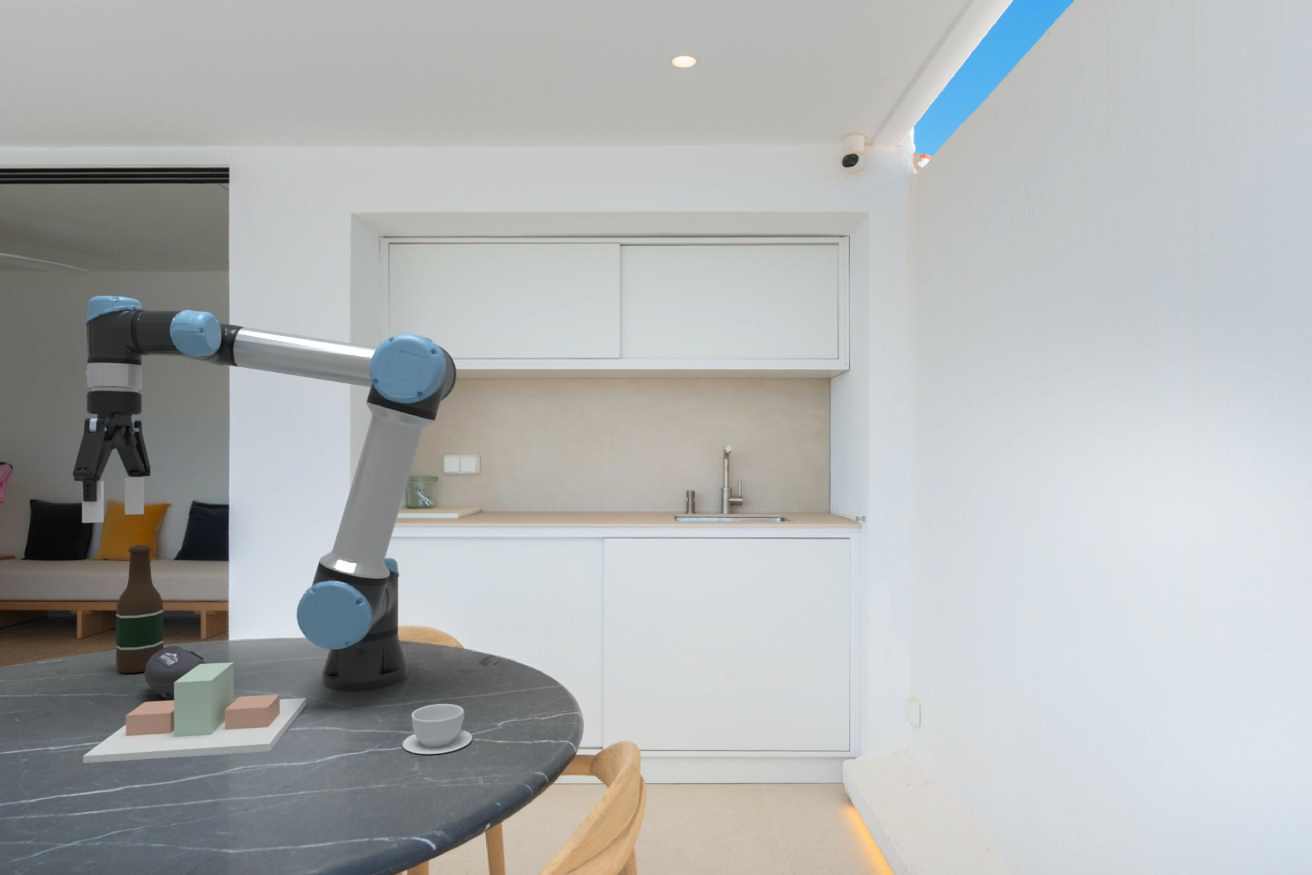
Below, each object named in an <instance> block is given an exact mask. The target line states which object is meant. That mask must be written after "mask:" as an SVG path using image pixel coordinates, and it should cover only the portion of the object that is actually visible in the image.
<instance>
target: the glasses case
mask: <svg viewBox="0 0 1312 875" xmlns="http://www.w3.org/2000/svg"><path fill="white" fill-rule="evenodd" d="M199 664H208V663H207V662H206V661H204V658H203V657H202V656H200V655H199V654H197V653H195V652H194V651H192V650H188V649H184V648H183V647H180V646H177V645H169V646H166V647H163V649H161V650H159V651H157V652H156V653H155V654H154V655H153V656H152V657H151V658H150V659H149V660H148V662H147V664H146V669H145V671H144V679H145V682H146V683H147V685H148V686H149V687H150V688H152V689H153V690H155V691H156V692H157V693H158V695H160V696H162V697H163V699H165V701H171V700H174V682H175V681H177V680H178V679H180V678H181V677H182V676H184V675H185V674H187V673H188V672H189V671H191V670H192V669H194V668H195V667H196V666H198V665H199Z"/></svg>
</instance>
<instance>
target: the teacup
mask: <svg viewBox="0 0 1312 875" xmlns="http://www.w3.org/2000/svg"><path fill="white" fill-rule="evenodd" d="M464 719H465V710H464V708H463V707H462V706H460V705H456V704H451V703H437V704H429V705H425V706H421V707H419V708H417V709H415V710H414V711H413V712H412V713H411V722H412V724H411V725H412V730H413V734H411V735H409V736H407V737H406V738H404V740H403V741H402V743H401V744H402V748H403V749H404V750H405V751H408V752H410V753H413V754H420V755H437V754H444V753H450V752H453V751H457V750H460V749H462V748H464V747H466V746H467V745H469V744H470V743H471V742H472V740H473V735H472V734H471V733H470V732H469V731H468V730H465V729H462V727H463V726H462V725H463V722H464V721H465V720H464Z"/></svg>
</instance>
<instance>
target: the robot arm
mask: <svg viewBox="0 0 1312 875" xmlns="http://www.w3.org/2000/svg"><path fill="white" fill-rule="evenodd" d="M86 312H87V314H86V321H85V326H86V337H87V338H86V342H87V344H86V345H87V346H86V347H87V350H86V351H87V360H86V361H87V362H86V364H87V365H86V366H87V367H86V370H85V371H84V374H85V375H86V379H87V380H86V382H87V383H86V384H87V385H86V386H87V387H88V388H89V389H91V390H90V391H88V393H86V411H87V413H88V414H91V415H97V416H96V418H85V420H84V426H83V434H82V439H81V442H80V446H79V449H78V454H77V457H76V460H75V464H74V467H73V472H72V476H73V480H74V482H81V489H82V490H81V508H82V509H81V523H83V524H87V523H88V524H89V523H94V524H95V523H96V524H97V523H104V521H105V516H104V514H105V512H104V511H105V509H104V508H105V507H104V506H105V502H104V500H105V496H104V495H105V494H104V493H105V492H104V491H105V490H104V487H105V486H104V484H105V482H104V480H101V478H102V476H103V474H104V472H105V468H106V466H107V464H108V461H109V459H110V456H111V454H112V451H113V450H117V453H118V456H119V457H120V460H121V462H122V464H123V467H124V469H125V472H126V474H127V476H125V477H124V515H144V514H145V477H150V476H151V472H152V471H151V465H150V460H149V455H148V453H147V452H148V451H147V446H146V444H145V443H146V442H145V439H144V436H143V435H144V434H143V425H142V424H143V423H142V420H133V418H132V416H133V415H140V414H142V411H143V409H142V408H143V407H142V404H143V403H142V402H143V399H142V396H143V395H142V394H141V393H140V392H139V390H141V389H142V388H143V374H142V373H143V371H142V370H143V369H142V368H143V367H142V366H143V365H142V364H143V362H142V361H143V360H142V359H143V356H162V357H163V356H168V357H169V356H170V357H171V356H172V357H181V358H187V359H190V360H195V361H201V362H206V363H209V364H212V365H217V366H229V367H236V368H237V367H238V368H243V369H250V370H258V371H264V372H268V373H270V372H272V373H277V374H283V375H289V376H290V375H291V376H297V377H303V378H310V379H315V380H323V381H327V382H328V381H329V382H335V383H340V384H341V383H342V384H348V385H354V386H361V387H366V388H367V387H368V388H370V389H369V392H368V396H367V400H366V403H365V404H366V406H367V407H368V409H369V411H370V413H371V418H370V419H371V420H370V423H369V426H368V428H367V432H366V436H365V438H364V443H363V446H362V448H361V453H360V456H359V459H358V463H357V465H356V466H357V467H356V469H355V473H354V476H353V480H352V483H351V487H350V490H349V493H348V496H347V500H346V503H345V506H344V510H343V514H342V517H341V520H340V523H339V527H338V530H337V533H336V536H335V540H334V544H333V547H332V550H331V551H330V552H328V553H327V554H325V555H323V556H321V557H320V558H319V561H318V565H317V567H316V570H315V574H314V577H313V581H312V584H311V586H310V587H308V588H307V589H306V590H305V593H303V594H302V596H301V598H300V600H299V602H298V604H297V608H296V621H297V625H298V627H299V630H300V631H301V633H302V634H303V636H304V637H305V638H306V639H307V640H308V641H309V642H310V643H312V644H313V645H315V646H317V647H319V648H323V649H326V650H329V651H328V654H327V657H326V660H325V663H324V666H323V669H322V672H321V673H322V674H321V684H322V686H323V687H324V688H326V689H329V690H332V691H341V692H358V691H370V690H376V689H382V688H386V687H390V686H393V685H395V684H399V683H400V682H402V681H404V680H406V678H407V677H408V675H409V674H408V673H409V670H408V669H409V666H408V663H407V659H406V656H405V653H404V650H403V647H402V644H401V641H400V639H399V638H400V637H399V577H400V572H399V568H398V567H399V566H398V562H397V560H395V558H390V557H387V556H386V555H387V552H388V549H389V546H390V542H391V539H392V535H393V532H394V529H395V525H396V521H397V519H398V515H399V511H400V507H401V505H402V501H403V498H404V496H405V495H404V494H405V492H406V487H407V484H408V480H409V478H410V475H411V471H412V468H413V464H414V461H415V457H416V454H417V450H418V448H419V443H420V440H421V436H422V434H423V430H424V429H425V428H426V427H428V426H430V425H432V424H434V423H435V421H436V418H437V415H438V411H439V408H440V405H441V402H442V401H443V400H445V399H446V398H447V397H448V396H449V395H450V394H451V393H452V391H453V389H454V388H455V385H456V382H457V374H458V373H457V367H456V362H454V359H453V357H452V356H451V355H450V354H449V352H448V351H447V350H446V349H444V348H443V347H441V346H440V345H438V344H437V343H436V342H435V341H433V340H432V339H431V338H428V337H425V336H423V335H418V334H413V333H401V334H395V335H393V336H391V337H389V338H387V339H385V340H384V341H383V342H381V343H380V344H378V346H376V347H375V346H370V345H369V346H368V345H363V344H358V343H350V342H345V341H339V340H338V341H336V340H331V339H325V338H324V339H323V338H318V337H311V336H305V335H299V334H293V333H292V334H291V333H288V332H287V333H286V332H280V331H272V330H267V329H260V328H255V327H247V326H240V325H237V324H236V325H234V324H229V323H222V322H219V320H218V319H216V317H215V315H214V314H213V313H211V312H208V311H198V310H197V311H196V310H193V309H186V310H146V309H145V310H144V309H143V306H142V303H141V302H140V301H139V300H138V299H135V298H131V297H127V296H117V295H116V296H115V295H114V296H113V295H97V296H93V297H91V298H90V299H89V300H88V302H87V311H86Z"/></svg>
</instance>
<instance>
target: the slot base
mask: <svg viewBox="0 0 1312 875" xmlns="http://www.w3.org/2000/svg"><path fill="white" fill-rule="evenodd" d="M280 698H281V695H280V694H279V693H278V694H265V695H264V694H263V695H262V694H261V695H248V696H247V695H246V696H245V695H244V696H239V697H237V698H236V699H234V702H233V703H232V704H231V705H230V706H229V707H227V708H226V709H225V722H224V723H223V724H222V725H221V726H220V727H219V728H217V729H216V730H215V731H214V732H213V733H212V734H211V735H198V736H182V737H174V700H171V701H168V700H158V701H157V700H155V701H145V702H143V703H141V704H140V705H139V706H137V707H136V708H135V709H133V710H131V711H130V712H129V713H127V714H126V715H125V724H124V725H123V726H122V727H121V728H119V729H118V730H116V731H115V732H114V733H112V734H111V735H110V736H108V737H106V739H104V740H102V742H100V743H99V744H97V745H96V746H94V747H93V748H91V750H89V751H88V752H86V753H85V754H84V755H82V764H92V763H109V762H122V761H123V762H125V761H139V760H140V761H141V760H155V759H156V760H157V759H172V758H187V757H188V758H189V757H190V758H191V757H192V758H193V757H203V756H205V757H206V756H221V755H233V754H234V755H238V754H240V755H241V754H255V753H269V752H271V751H272V749H273V748H274V747H275V746H276V744H277V743H278V742H279V740H280V739H281V738H283V735H285V733H286V732H287V730H288V729H289V728H291V725H292V724H293V723H294V722H295V720H296V719H297V718H298V717H299V715H300V714H301V713H302V711H303V710H304V709H305V707H307V698H306V697H302V698H301V697H299V698H285V699H284V698H282V699H280Z"/></svg>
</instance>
